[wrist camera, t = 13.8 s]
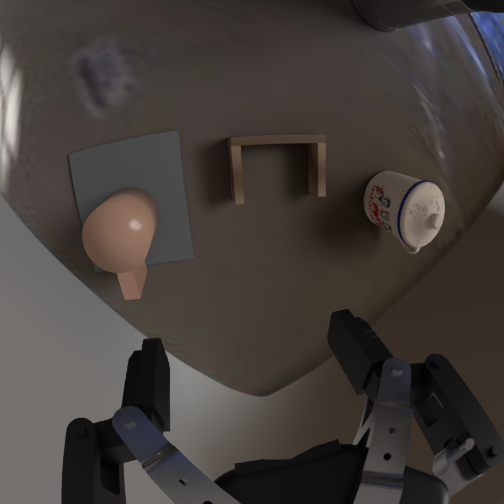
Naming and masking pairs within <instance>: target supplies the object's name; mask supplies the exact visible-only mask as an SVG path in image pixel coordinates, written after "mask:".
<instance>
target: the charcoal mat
mask: <svg viewBox="0 0 504 504" xmlns="http://www.w3.org/2000/svg"><path fill="white" fill-rule="evenodd" d="M69 159H70V166H71V173H72V179H73V185H74V190H75V195H76V200H77V205H78V210H79V214H80V219H81V223H82V227H83V226H84V223H85V221H86V219H87V218H88V216H89V215H90V214H91V213H92V212H93V211H94V210H95V209H96V208H97V207H99V206H100V205H101V204H102V203H103V202H104V201H106V200H107V199H108V198H109V197H110V196H111V195H113V194H114V193H115V192H116V191H118V190H120V189H122V188H126V187H136V188H140V189H142V190H144V191H146V192H147V193H149V194H150V195H151V196H152V197H153V199H154V200H155V202H156V204H157V207H158V211H159V220H158V224H157V227H156V230H155V233H154V236H153V239H152V242H151V245H150V248H149V251H148V254H147V256H146V258H145V264H146V265H151V264H158V263H165V262H172V261H179V260H186V259H193V258H194V251H193V245H192V238H191V232H190V225H189V218H188V210H187V203H186V195H185V187H184V178H183V169H182V160H181V150H180V139H179V130H177V131H170V132H164V133H157V134H152V135H146V136H141V137H136V138H131V139H126V140H121V141H117V142H112V143H108V144H104V145H100V146H96V147H92V148H88V149H85V150H81V151H78V152H74V153H71V154H69ZM92 263H93V266H94V269H95V272H103V271H106V270H104V269H102V268H100V267H98V266H97V265H96V264H95V263H94V262H93V261H92Z"/></svg>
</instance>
